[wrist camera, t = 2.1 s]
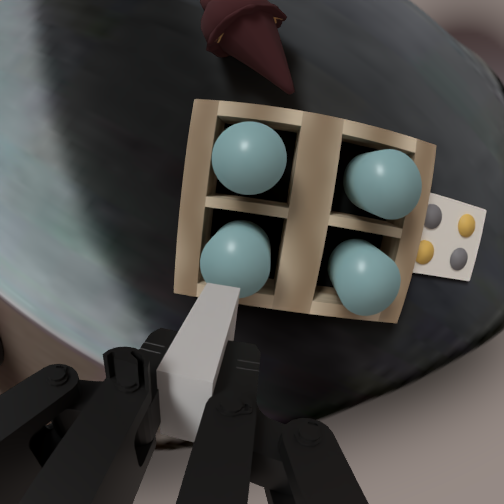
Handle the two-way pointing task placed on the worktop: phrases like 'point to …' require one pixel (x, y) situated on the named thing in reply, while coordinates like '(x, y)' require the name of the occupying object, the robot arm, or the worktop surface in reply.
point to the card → (449, 238)
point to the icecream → (248, 36)
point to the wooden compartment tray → (296, 205)
